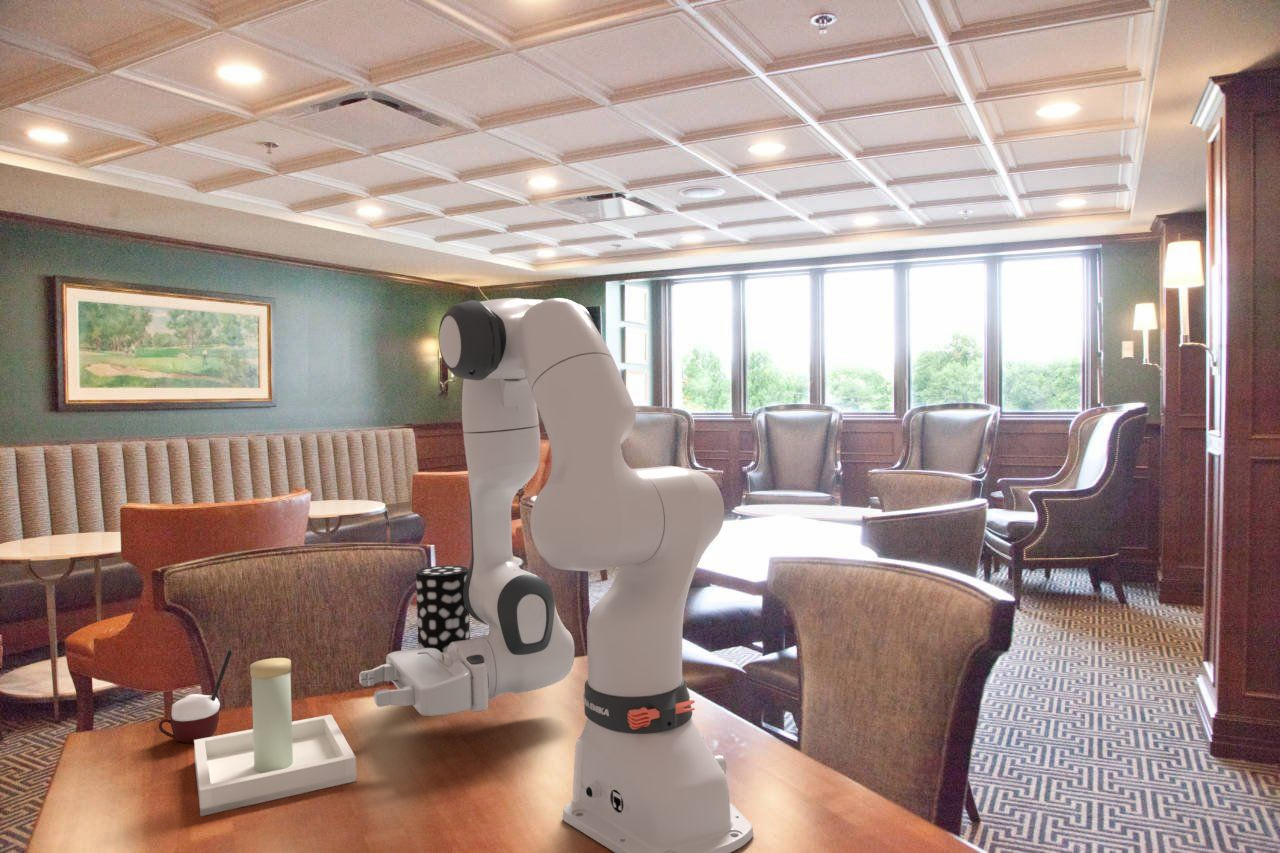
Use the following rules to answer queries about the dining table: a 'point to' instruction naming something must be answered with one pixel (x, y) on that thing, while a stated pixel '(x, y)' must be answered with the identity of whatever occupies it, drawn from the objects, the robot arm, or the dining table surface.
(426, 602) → the spotted tube
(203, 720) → the cocoa
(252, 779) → the dish
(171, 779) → the dining table surface
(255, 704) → the tea tin
